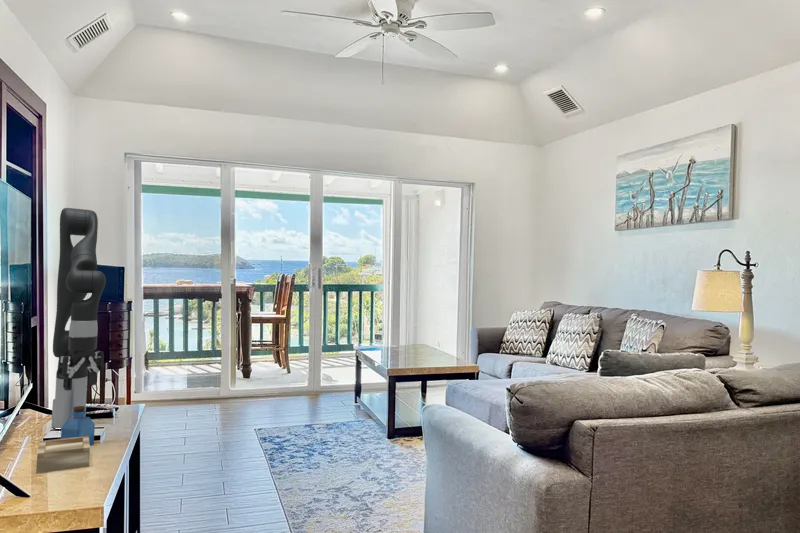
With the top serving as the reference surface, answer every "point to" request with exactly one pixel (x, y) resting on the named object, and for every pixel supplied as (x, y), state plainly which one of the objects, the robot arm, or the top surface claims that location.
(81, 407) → the perfume bottle
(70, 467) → the square tray
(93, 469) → the top surface
